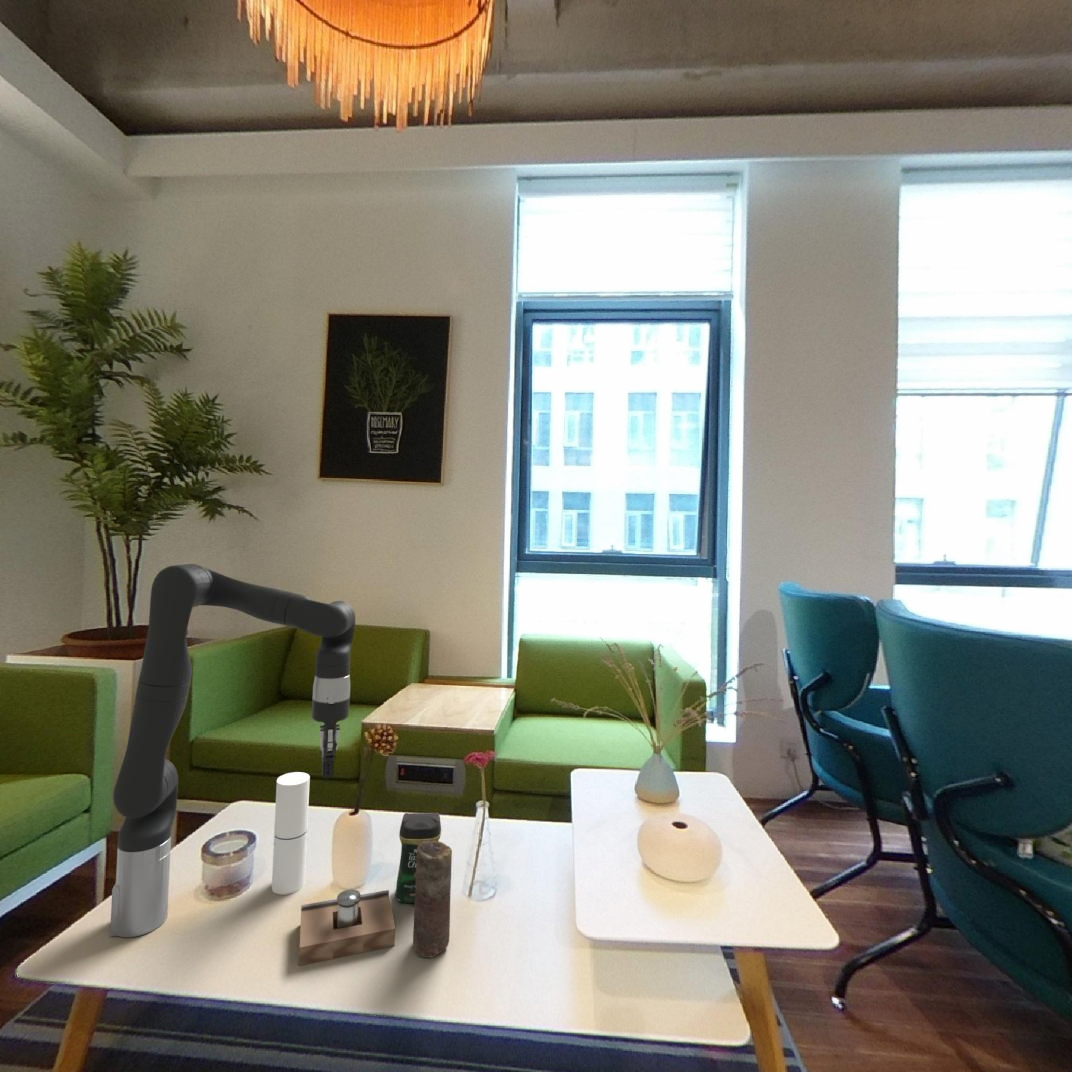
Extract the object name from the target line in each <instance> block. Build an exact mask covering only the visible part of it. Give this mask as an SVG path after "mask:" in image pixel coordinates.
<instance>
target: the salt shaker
mask: <svg viewBox="0 0 1072 1072" xmlns="http://www.w3.org/2000/svg"><path fill="white" fill-rule="evenodd" d="M360 895H361V893H360V891H359V890H357V889H352V888H351V889H345V890H343V891H341V892H340V893H338V895H337V897H336V899H337V904H338V918H337V928H336V929H340V928H346V927H351V926H356V925H358V924H357V919H358V902H359V901H360Z"/></svg>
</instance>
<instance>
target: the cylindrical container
mask: <svg viewBox="0 0 1072 1072" xmlns="http://www.w3.org/2000/svg"><path fill="white" fill-rule="evenodd" d="M310 778H311V776H310V774H308V773H306V772H300V771H294V772H287V773H284V774H283V775H282V774H281V775H280V776H278V777H277V779H276V788H275V789H276V790H275V806H274V807H275V810H274V827H273V828H274V832H273V851H272V853H273V854H272V855H273V856H272V876H271V891H272V892H273V893H274V894H277V895H284V896H285V895H289V894H295V893H296V892H298V891H300V890H301V889H303V887H304V886H305V883H306V865H307V864H306V863H307V861H306V860H307V847H308V827H309V826H308V823H309V800H310V783H311V782H310V781H311V779H310Z"/></svg>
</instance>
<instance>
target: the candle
mask: <svg viewBox="0 0 1072 1072" xmlns="http://www.w3.org/2000/svg"><path fill="white" fill-rule="evenodd" d="M452 854H453V850H452V848H451V847H450V846H449V845H447V844H446V843H444V842H442V841H434V842H427V843H422V844H420V845H419V846H418V848H417V863H416V890H415V903H414V909H413V910H414V912H413V931H412V933H413V934H412V945H413V948H414V952H415V953H416V954H417V956H418V957H421V958H433V957H436V956H437V955H438V954H440V953H442V952H443V951H445V950H446V948H447V947H448V946H449V943H450V936H451V934H450V929H451V888H452V884H451V883H452V859H453V858H452V857H453V855H452Z"/></svg>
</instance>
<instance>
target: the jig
mask: <svg viewBox="0 0 1072 1072" xmlns="http://www.w3.org/2000/svg"><path fill="white" fill-rule="evenodd" d="M300 907H301V908H300V924H299V925H300V926H299V927H300V928H299V948H298V949H299V950H298V951H299V952H298V953H299V955H298V966H299V967H300V966H304V965H308V964H314V963H318V962H322V961H328V960H332V959H337V958H341V957H347V956H352V955H356V954H361V953H365V952H371V951H375V950H380V949H385V948H390V947H394V946H395V942H396V926H395V920H394V919H395V918H394V914H393V910H392V909H393V908H392V904H391V899H390V890H389V889H387V890H381V891H376V892H375V891H374V892H369V893H364V894H360V901H359V902H358V919H357V925H356V926H351V927H346V928H340V929H337V918H338V904H337V898H335V899H329V900H322V901H318V902H312V903H307V904H302V905H300Z"/></svg>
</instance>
